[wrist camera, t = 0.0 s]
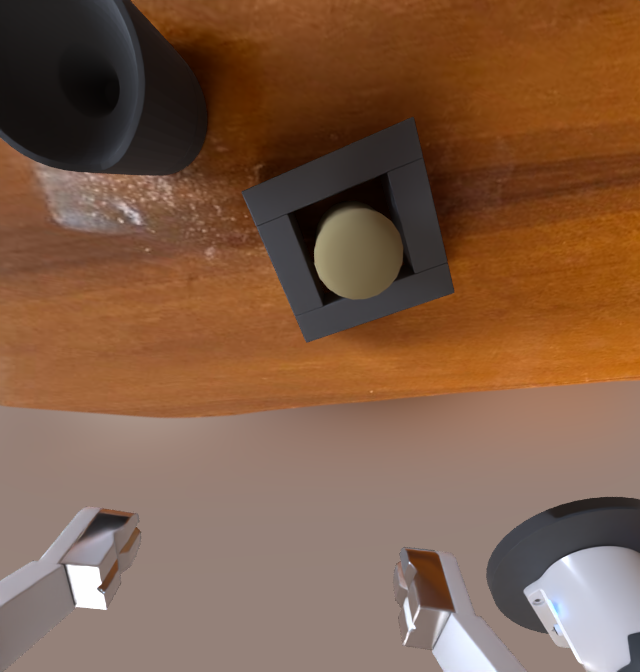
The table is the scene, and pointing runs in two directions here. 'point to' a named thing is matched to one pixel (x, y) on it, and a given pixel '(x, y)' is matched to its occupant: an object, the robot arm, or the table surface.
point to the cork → (357, 250)
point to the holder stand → (406, 213)
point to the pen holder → (96, 89)
